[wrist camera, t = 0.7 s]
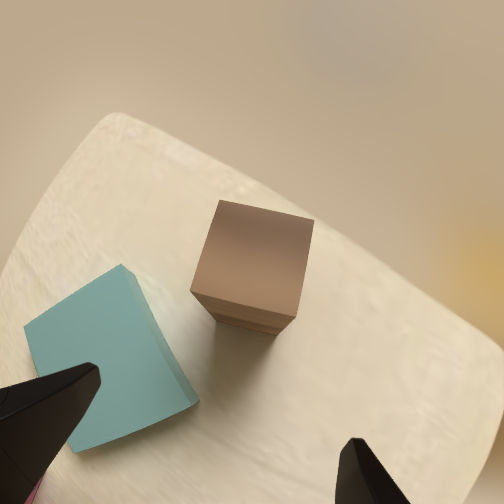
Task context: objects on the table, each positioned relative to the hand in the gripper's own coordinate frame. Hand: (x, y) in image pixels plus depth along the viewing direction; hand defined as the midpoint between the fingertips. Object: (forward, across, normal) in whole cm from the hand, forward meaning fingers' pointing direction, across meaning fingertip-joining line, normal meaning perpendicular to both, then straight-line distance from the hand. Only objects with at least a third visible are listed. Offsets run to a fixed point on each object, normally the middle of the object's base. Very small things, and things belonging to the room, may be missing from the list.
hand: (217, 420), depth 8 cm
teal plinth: (+9, +11, +10) cm, 17 cm away
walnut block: (+15, +1, +2) cm, 15 cm away
